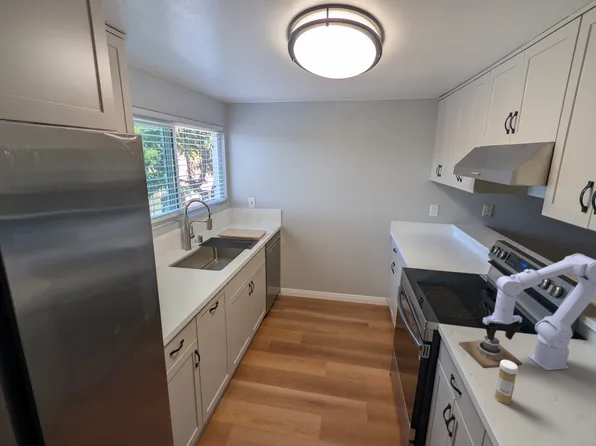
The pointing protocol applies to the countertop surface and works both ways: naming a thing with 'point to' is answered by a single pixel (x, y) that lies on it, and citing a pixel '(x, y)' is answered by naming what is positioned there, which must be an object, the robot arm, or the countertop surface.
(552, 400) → the countertop surface
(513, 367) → the sprinkles bottle
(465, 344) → the mount board
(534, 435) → the countertop surface
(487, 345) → the lens
